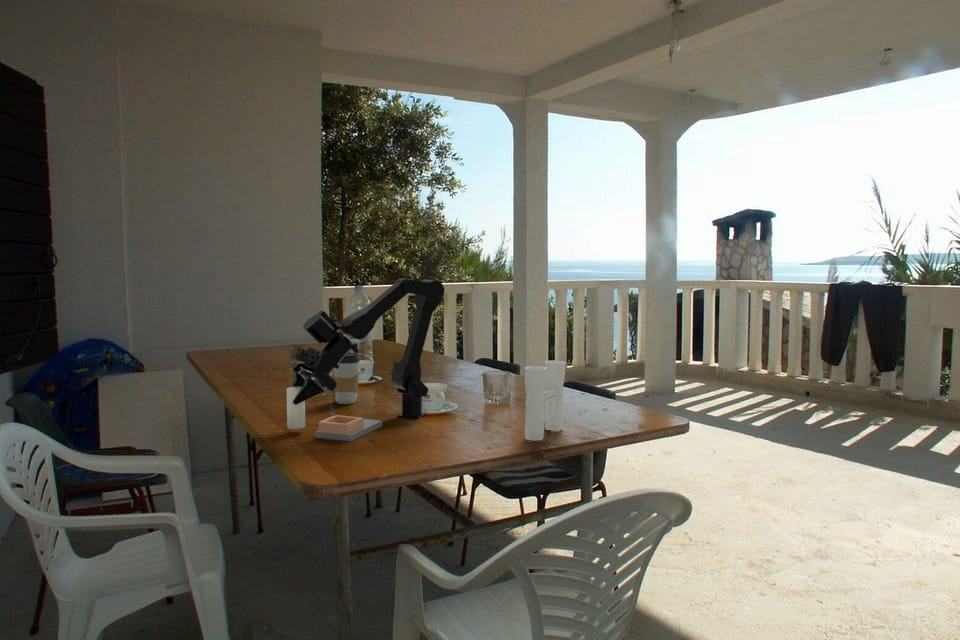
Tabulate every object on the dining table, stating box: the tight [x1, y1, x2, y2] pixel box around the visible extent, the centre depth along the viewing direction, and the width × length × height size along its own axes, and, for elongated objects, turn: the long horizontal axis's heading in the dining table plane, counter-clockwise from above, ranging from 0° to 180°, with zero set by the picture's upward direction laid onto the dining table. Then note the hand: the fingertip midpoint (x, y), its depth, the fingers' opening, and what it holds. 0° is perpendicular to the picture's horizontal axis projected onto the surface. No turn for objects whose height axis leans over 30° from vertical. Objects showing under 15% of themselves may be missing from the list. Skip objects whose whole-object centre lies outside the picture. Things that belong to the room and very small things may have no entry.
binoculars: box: [524, 359, 566, 441], centre depth 169 cm, size 17×5×18 cm, turn 150°
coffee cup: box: [332, 352, 360, 405], centre depth 206 cm, size 8×8×15 cm
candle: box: [286, 386, 306, 430], centre depth 168 cm, size 4×4×10 cm
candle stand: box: [314, 414, 383, 442], centre depth 170 cm, size 16×10×4 cm, turn 160°
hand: (290, 402), depth 167 cm, fingers closed on candle, 4 cm apart
